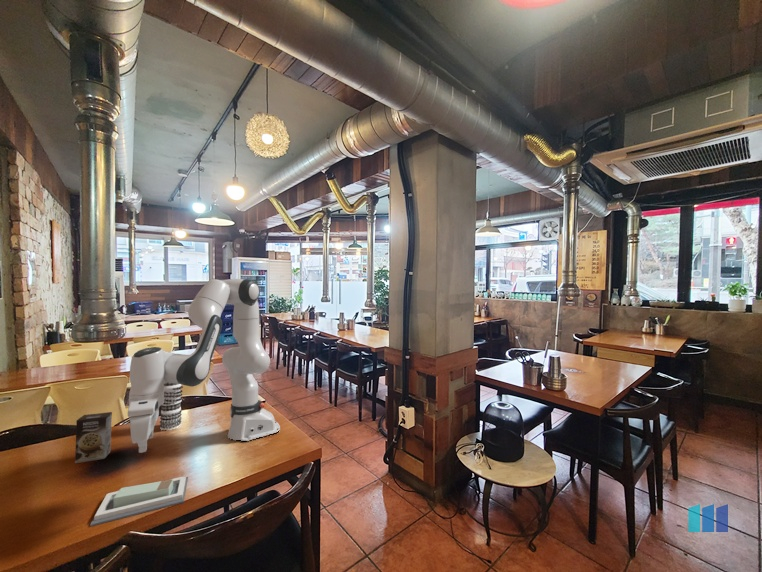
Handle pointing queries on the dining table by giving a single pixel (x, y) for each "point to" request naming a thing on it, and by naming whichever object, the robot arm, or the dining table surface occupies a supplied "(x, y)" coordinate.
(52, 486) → the dining table surface
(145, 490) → the pale green rectangular block
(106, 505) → the picture frame
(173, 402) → the decorative candle
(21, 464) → the dining table surface
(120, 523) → the dining table surface
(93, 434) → the coffee box
